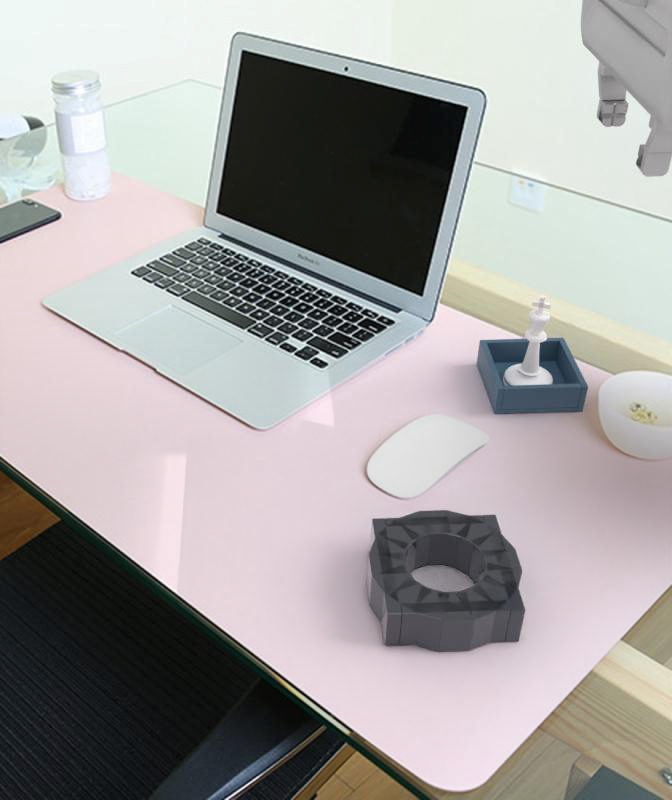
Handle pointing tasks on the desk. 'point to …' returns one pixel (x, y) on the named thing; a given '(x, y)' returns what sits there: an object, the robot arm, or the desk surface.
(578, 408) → the basin tray
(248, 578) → the desk surface
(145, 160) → the desk surface
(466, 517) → the dark grey ring block
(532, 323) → the chess piece
